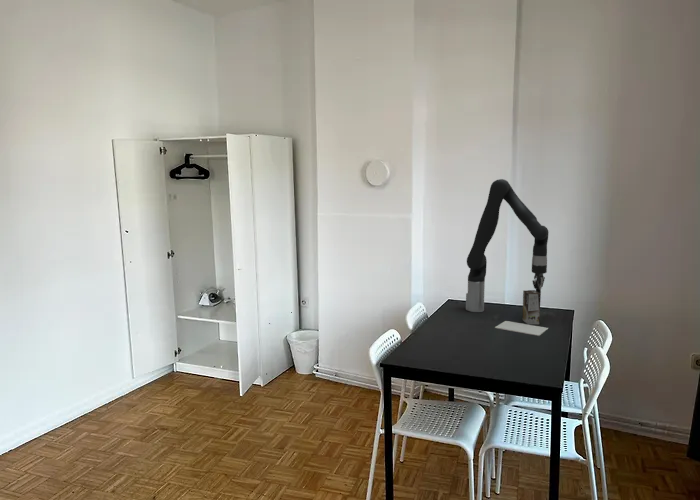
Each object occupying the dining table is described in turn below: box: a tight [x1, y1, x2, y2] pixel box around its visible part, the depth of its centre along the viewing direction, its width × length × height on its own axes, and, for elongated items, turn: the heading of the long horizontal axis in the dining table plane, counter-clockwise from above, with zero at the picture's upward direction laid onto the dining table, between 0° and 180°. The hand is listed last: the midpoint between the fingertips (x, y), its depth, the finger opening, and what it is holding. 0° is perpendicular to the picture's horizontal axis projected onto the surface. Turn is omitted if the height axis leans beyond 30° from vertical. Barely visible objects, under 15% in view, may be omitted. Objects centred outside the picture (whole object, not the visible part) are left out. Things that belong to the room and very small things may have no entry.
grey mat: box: [494, 320, 549, 337], centre depth 262 cm, size 22×14×1 cm, turn 52°
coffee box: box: [521, 289, 542, 326], centre depth 272 cm, size 9×6×16 cm
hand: (538, 295), depth 279 cm, fingers closed
